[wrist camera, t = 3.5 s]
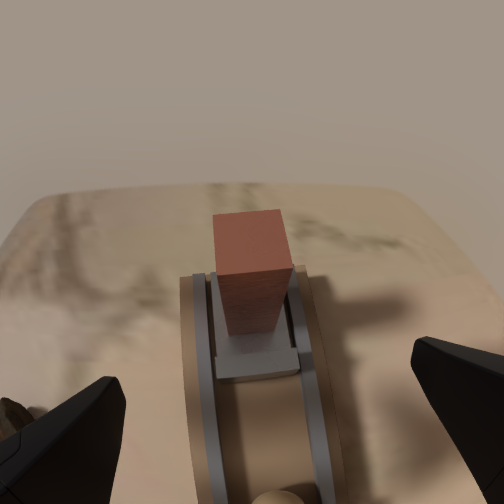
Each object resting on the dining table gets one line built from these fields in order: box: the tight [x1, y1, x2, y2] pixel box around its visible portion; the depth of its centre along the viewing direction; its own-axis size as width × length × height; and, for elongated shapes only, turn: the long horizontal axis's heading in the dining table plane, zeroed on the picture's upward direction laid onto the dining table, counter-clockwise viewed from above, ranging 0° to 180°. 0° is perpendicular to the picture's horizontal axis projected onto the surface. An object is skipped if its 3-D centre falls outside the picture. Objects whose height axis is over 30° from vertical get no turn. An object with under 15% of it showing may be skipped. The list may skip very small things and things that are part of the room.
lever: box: [210, 209, 300, 384], centre depth 15 cm, size 7×4×9 cm, turn 7°
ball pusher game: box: [180, 264, 349, 504], centre depth 15 cm, size 20×9×5 cm, turn 7°
